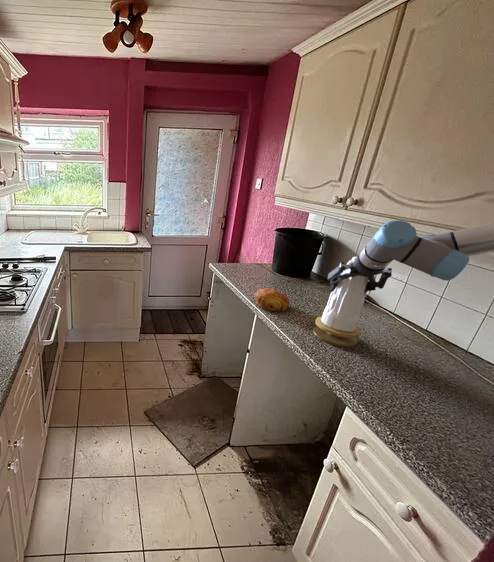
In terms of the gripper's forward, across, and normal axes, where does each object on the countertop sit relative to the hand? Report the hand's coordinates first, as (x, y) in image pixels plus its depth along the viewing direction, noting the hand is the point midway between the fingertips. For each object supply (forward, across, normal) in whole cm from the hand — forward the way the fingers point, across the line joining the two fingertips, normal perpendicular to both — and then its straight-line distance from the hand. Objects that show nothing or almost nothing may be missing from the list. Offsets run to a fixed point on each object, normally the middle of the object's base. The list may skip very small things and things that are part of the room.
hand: (346, 290), depth 113 cm
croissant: (+24, -22, -2) cm, 32 cm away
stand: (+10, 0, -15) cm, 18 cm away
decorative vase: (+7, 0, -11) cm, 13 cm away
